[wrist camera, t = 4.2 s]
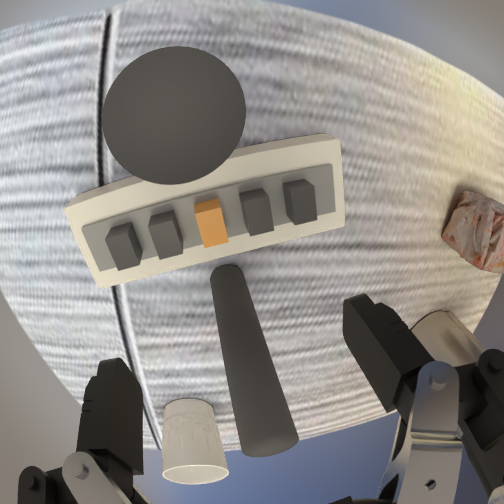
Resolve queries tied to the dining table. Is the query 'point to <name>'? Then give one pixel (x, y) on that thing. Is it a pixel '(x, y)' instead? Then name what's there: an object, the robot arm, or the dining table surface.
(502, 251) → the food item
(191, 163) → the dark grey post
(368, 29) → the dining table surface
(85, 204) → the breaker panel
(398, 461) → the robot arm
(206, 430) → the white cup
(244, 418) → the dark grey cylinder rod
